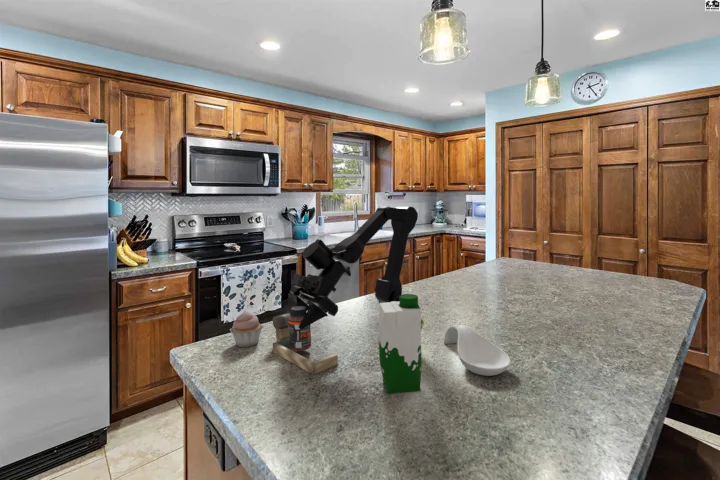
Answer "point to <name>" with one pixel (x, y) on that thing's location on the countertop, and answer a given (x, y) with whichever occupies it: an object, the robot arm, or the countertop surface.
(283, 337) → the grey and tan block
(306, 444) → the countertop surface
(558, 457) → the countertop surface
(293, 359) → the frame
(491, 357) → the spoon rest
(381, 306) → the milk carton
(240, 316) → the cupcake
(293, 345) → the supplement bottle
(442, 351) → the countertop surface
